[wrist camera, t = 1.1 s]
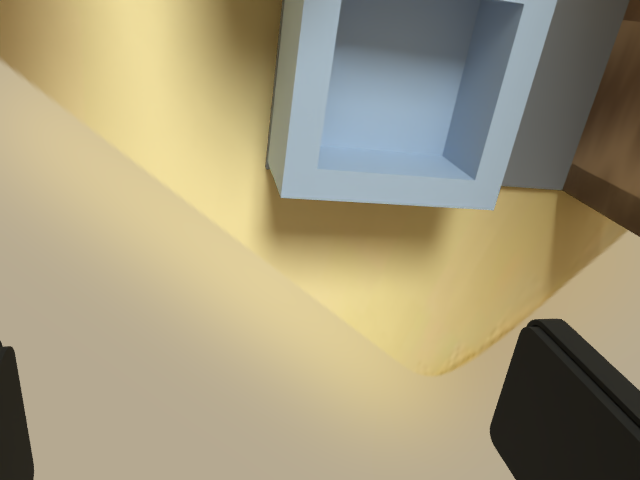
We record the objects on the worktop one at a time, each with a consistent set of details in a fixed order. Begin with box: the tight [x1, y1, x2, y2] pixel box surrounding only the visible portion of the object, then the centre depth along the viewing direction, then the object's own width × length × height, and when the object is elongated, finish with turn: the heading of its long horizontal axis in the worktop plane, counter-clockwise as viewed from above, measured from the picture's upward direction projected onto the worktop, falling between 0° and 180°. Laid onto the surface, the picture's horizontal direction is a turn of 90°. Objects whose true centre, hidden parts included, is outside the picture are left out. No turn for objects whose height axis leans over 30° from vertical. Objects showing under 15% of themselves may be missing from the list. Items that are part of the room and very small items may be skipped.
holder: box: [268, 0, 557, 210], centre depth 26 cm, size 11×11×5 cm
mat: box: [265, 0, 630, 190], centre depth 30 cm, size 12×21×1 cm, turn 82°
